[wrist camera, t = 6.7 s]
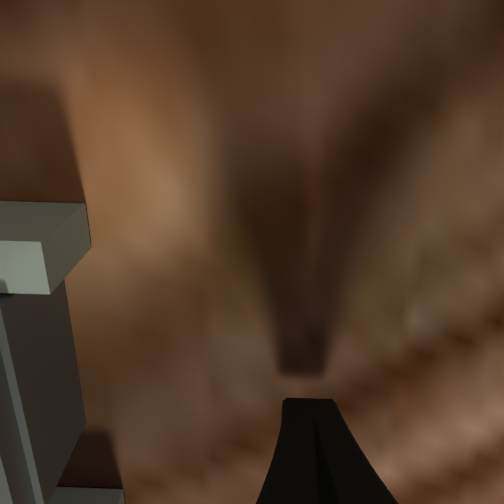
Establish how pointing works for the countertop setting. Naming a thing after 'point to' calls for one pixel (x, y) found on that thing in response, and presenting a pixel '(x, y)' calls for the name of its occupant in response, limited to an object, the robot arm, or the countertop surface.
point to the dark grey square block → (37, 395)
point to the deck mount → (46, 278)
